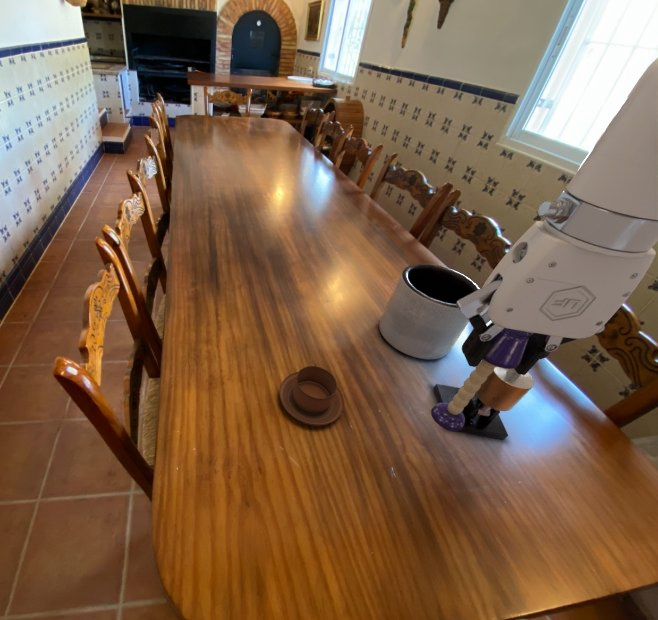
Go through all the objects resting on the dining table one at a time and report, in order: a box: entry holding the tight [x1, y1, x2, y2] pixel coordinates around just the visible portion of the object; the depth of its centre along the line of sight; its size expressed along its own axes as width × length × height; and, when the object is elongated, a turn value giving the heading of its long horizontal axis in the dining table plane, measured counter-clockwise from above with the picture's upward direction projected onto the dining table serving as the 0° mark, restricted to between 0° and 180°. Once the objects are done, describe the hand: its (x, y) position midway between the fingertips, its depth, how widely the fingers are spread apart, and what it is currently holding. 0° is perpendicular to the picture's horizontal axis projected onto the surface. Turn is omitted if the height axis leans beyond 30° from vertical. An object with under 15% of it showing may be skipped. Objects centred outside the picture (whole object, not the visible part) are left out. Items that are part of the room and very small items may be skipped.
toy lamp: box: [430, 328, 529, 432], centre depth 45 cm, size 5×5×17 cm
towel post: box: [475, 351, 552, 416], centre depth 59 cm, size 6×6×19 cm
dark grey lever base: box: [433, 383, 509, 441], centre depth 66 cm, size 10×10×7 cm
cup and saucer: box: [279, 362, 345, 427], centre depth 66 cm, size 12×12×6 cm
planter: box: [378, 263, 480, 360], centre depth 79 cm, size 16×16×16 cm
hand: (492, 360), depth 43 cm, fingers closed on toy lamp, 4 cm apart
